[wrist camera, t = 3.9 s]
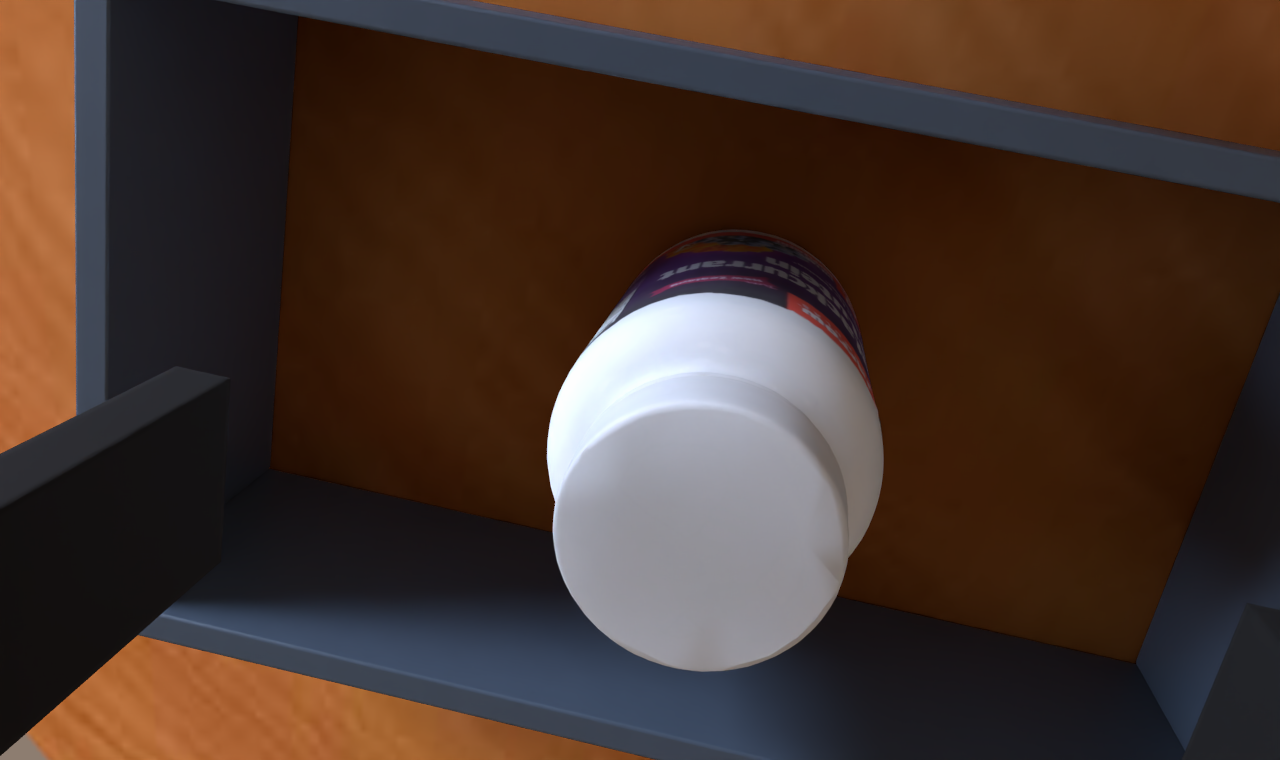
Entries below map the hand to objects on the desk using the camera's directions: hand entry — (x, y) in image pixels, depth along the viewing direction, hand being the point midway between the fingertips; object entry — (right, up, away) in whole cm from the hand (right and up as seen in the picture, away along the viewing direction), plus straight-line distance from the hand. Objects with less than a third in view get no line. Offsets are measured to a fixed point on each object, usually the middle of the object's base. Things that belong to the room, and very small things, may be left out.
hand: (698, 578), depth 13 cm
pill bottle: (+1, +3, +10) cm, 10 cm away
